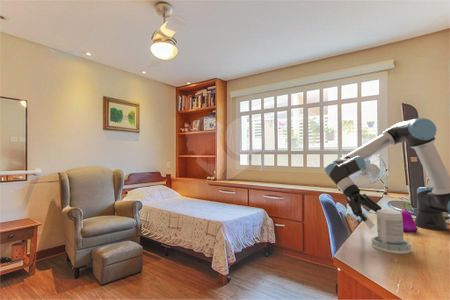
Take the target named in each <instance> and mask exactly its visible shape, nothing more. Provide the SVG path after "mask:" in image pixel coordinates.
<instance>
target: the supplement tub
mask: <svg viewBox="0 0 450 300" xmlns="http://www.w3.org/2000/svg"><path fill="white" fill-rule="evenodd" d="M376 227H377V229H376V230H377V232H376V233H377V236H378V242H380V243H384V244H388V245H395V246H404V240H405V239H404V232H403V218H402V213H401V212H400V211H399V210H392V209H381V210H377V215H376Z"/></svg>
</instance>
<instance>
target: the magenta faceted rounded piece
mask: <svg viewBox="0 0 450 300" xmlns="http://www.w3.org/2000/svg"><path fill="white" fill-rule="evenodd" d="M402 205H403V208H404V209H402V210H400V211H399V212H401V213H402V218H403V233H416V232H417V231H418V229H419V228H418V226H416V225H415V222H414V220H415V219H413V216H412V214H411V212H409V210H407V208H410V209H412V207H411V206H409V205H408V204H406V203H405V202H403V203H402Z"/></svg>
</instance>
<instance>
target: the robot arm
mask: <svg viewBox="0 0 450 300" xmlns="http://www.w3.org/2000/svg"><path fill="white" fill-rule="evenodd" d="M436 134H437V126H436V124H435V123H434V122H433V121H432V120H431V119H428V118H425V117H421V118H418V117H417V118H413V119H408V120H403V121H400V122H397V123H396V124H394V125H392V126H390V127H389V128H387V129H386V130H384V131H382V132H381V133H380V135H379V136H377V137H375V138H374V139H372V140H370V141H368V142H367V143H365V144H363V145H362V146H360V147H358V148H356V149H354V150H353V151H351V152H349V153H348V154H346V155H343V156H342V157H340V158H336V159H334V160H332V162H331V163H329V164H327V166H326V167H325V169H324V170H325V174H326V175H327V176H328V178H330V180H331V181H332V182H333V183H334V184H335V185H336V187H337V188H338V190H340V191H341V192H342V194H343V195H344V196H345V200H346V201H347V203H348V205H349V207H350V209H351V212H352V214H353V215H354V216H355V217H356V218H358V217H359V218H360V219H361V220H362V222H363V223H364V224H365V225H366V227H368V228H369V229H372V228H373V227H375V223H374V222H373V221H372V220H371V218H370V217H369V216H368V215H367V214H366V213H365V212H363V209H362V205H363V206H365V207H366V208H369V209H370V210H371V211H373V212H375V216H377V210H383V209H382V206H380V205H379V204H377V203H376V202H375V201H374V200H372V198H370V197H369V196H368V195H366V193H363V194H361V189H360V188H359V187H358V185H356V184H355V182H354V181H353V180H352V179H351V178H350V176H352V175H354V174H356V173H358V172H360V171H362V170H363V169H366V166H367V163H366V159H368V158H370V157H372V156H374V155H375V154H377V153H379V152H381V151H383V150H384V149H387V148H388V147H393V146H394V145H397V144H401V143H407V144H408V147H409V148H411V149H413V150H414V151H415V153H416V155H417V157H418V159H419V162H420V163H421V166H422V169H424V171H425V173H426V176H427V177H428V179H429V182H430V184H431V186H422V187H421V186H420V187H418V188H416V203H417V205H416V206H417V212H416V215H415V219H413V220H414V222H415V225H416V227H417V228H418V227H419V228H422V229H427V230H434V231H446V230H447V231H448V229H449V225H448V222H447V221H446V218H445V216H444V213H448V214H450V173H449V172H448V170H447V168H446V165H445V164H444V161H443V160H442V158H441V156H440V154H439V151H438V150H437V147H436V146H435V143H434V142H435V141H436V137H435V136H436Z"/></svg>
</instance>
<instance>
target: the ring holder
mask: <svg viewBox="0 0 450 300" xmlns="http://www.w3.org/2000/svg"><path fill="white" fill-rule="evenodd" d="M371 247H373V248H374V249H376V250H378V251H381V252H386V253H389V254H397V255H407V254H410V253H411V249H412V244H411V243H410V241H407V240H405V239H404V246H395V245H388V244H384V243H380V242H378V235H377V236H376V235H375V236H372V237H371Z"/></svg>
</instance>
